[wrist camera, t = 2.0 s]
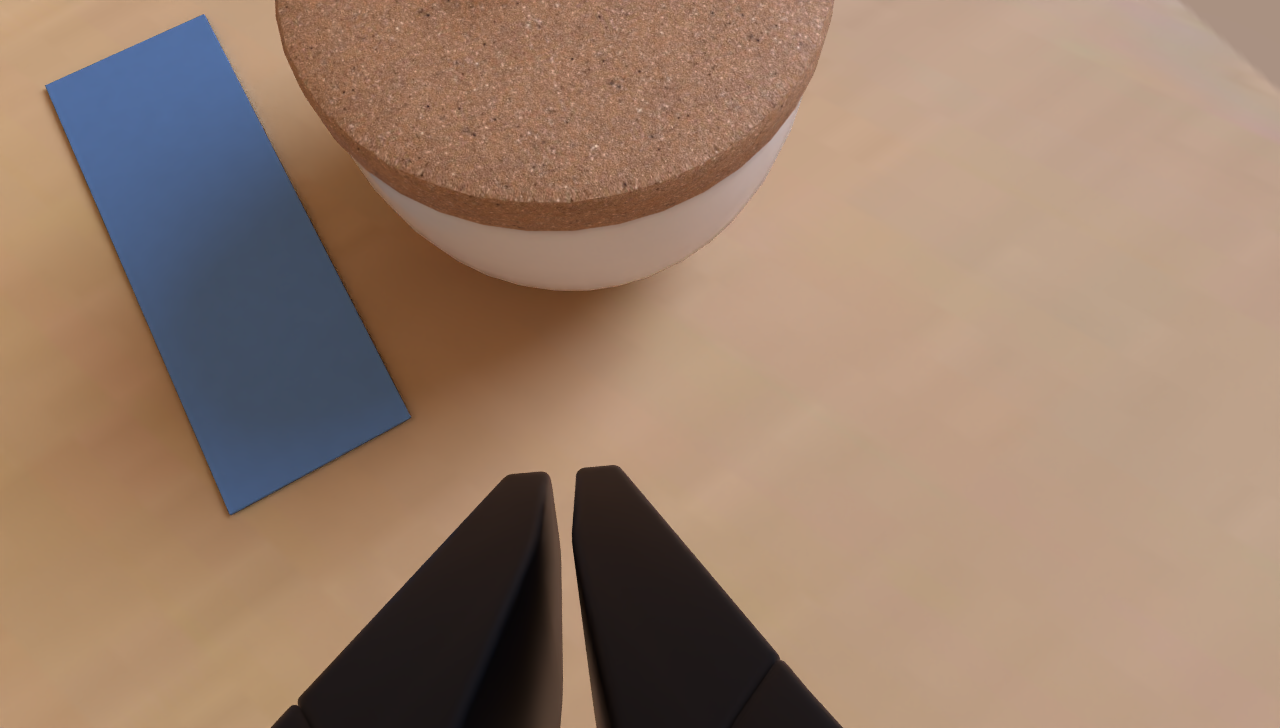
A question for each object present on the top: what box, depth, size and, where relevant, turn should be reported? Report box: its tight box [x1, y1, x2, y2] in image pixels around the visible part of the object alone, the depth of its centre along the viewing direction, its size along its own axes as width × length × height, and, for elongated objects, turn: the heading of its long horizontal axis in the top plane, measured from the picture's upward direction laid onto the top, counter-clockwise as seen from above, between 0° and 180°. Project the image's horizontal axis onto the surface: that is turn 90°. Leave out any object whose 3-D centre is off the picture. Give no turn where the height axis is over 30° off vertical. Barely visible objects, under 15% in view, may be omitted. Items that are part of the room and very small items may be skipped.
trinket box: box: [275, 0, 834, 291], centre depth 20 cm, size 11×11×9 cm
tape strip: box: [45, 14, 411, 515], centre depth 24 cm, size 5×14×1 cm, turn 30°
